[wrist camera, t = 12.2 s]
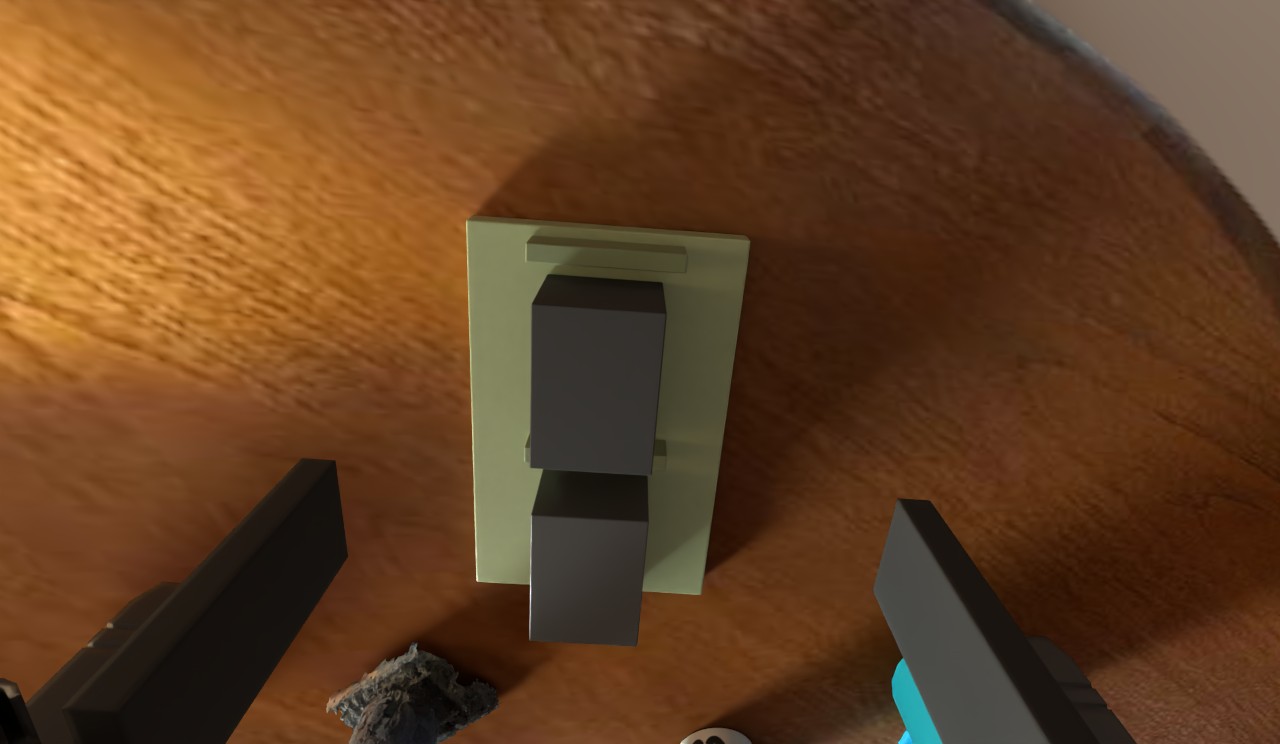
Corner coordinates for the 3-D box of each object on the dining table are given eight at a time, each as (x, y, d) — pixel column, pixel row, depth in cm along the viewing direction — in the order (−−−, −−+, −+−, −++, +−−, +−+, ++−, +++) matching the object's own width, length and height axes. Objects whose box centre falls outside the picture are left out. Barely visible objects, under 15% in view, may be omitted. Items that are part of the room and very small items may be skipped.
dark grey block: (547, 273, 28) (530, 303, 24) (662, 281, 28) (667, 313, 24) (544, 419, 30) (529, 468, 26) (649, 425, 31) (651, 476, 26)
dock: (472, 214, 28) (433, 240, 23) (746, 235, 28) (771, 265, 23) (481, 567, 35) (453, 648, 30) (699, 580, 36) (710, 662, 30)
